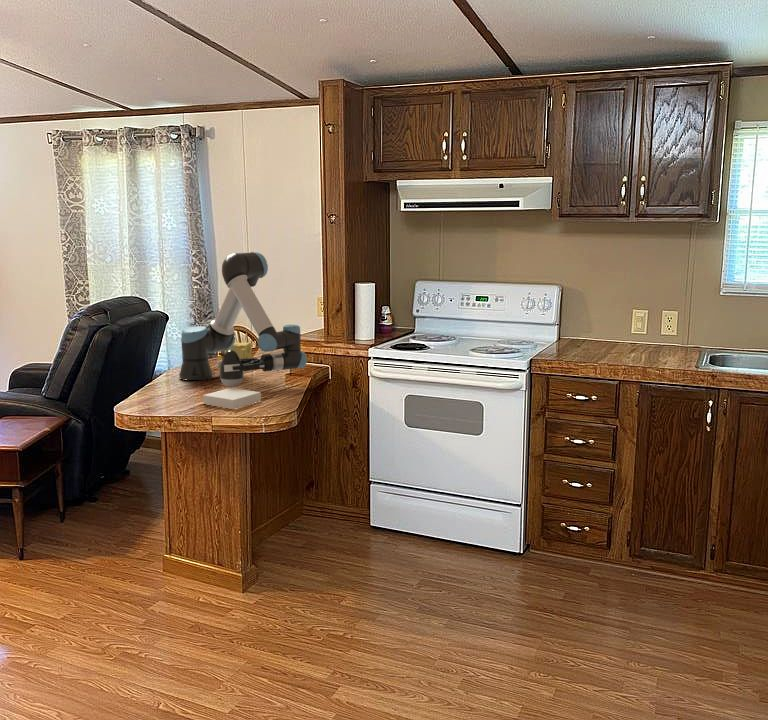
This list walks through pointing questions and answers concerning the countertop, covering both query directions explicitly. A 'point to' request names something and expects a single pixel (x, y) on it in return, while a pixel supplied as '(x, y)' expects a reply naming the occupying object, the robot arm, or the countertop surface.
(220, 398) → the riser
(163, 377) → the countertop surface
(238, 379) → the dark brown rounded piece
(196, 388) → the countertop surface
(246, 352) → the cheese
